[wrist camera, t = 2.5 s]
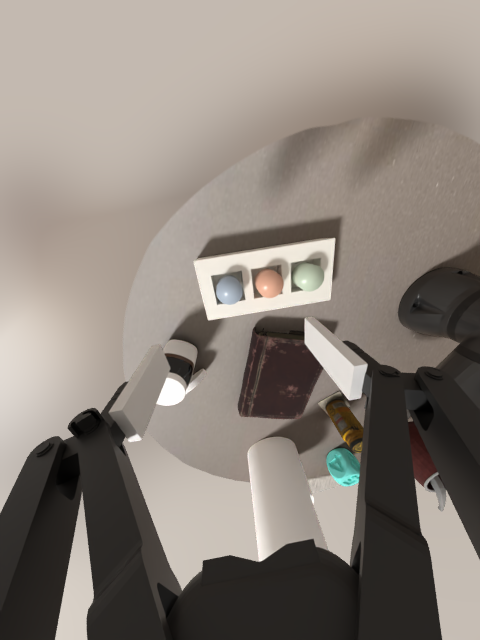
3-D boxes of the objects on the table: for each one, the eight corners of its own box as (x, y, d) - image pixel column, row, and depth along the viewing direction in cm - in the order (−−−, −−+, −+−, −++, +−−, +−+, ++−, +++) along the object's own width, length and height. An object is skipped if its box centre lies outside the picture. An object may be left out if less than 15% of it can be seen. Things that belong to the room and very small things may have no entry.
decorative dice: (322, 457, 66) (334, 483, 59) (337, 445, 64) (352, 471, 56) (336, 461, 68) (350, 488, 61) (352, 450, 66) (368, 476, 59)
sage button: (315, 260, 32) (325, 263, 29) (314, 284, 34) (323, 289, 31) (291, 264, 32) (298, 267, 29) (291, 288, 34) (298, 293, 30)
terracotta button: (277, 266, 32) (283, 269, 29) (278, 290, 34) (284, 295, 30) (253, 270, 32) (256, 274, 28) (255, 294, 33) (259, 300, 30)
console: (321, 238, 34) (335, 238, 30) (319, 293, 38) (330, 299, 34) (197, 258, 33) (193, 261, 29) (209, 311, 38) (208, 320, 34)
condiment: (329, 416, 56) (354, 458, 46) (317, 402, 53) (341, 444, 42) (349, 405, 55) (381, 446, 44) (338, 390, 52) (369, 430, 41)
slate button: (239, 273, 32) (240, 276, 28) (242, 296, 33) (244, 302, 30) (214, 277, 31) (213, 281, 28) (219, 300, 33) (219, 306, 30)
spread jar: (170, 330, 39) (150, 364, 29) (217, 347, 42) (215, 383, 31) (155, 370, 43) (134, 412, 33) (199, 382, 46) (192, 425, 36)
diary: (237, 401, 51) (237, 417, 47) (251, 325, 41) (254, 335, 37) (297, 404, 54) (304, 420, 49) (326, 332, 43) (337, 343, 39)
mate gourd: (384, 399, 55) (463, 478, 37) (420, 402, 57) (512, 478, 39) (361, 431, 61) (419, 512, 43) (395, 433, 63) (463, 510, 45)
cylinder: (237, 454, 61) (246, 609, 36) (276, 429, 57) (318, 583, 32) (268, 471, 67) (294, 613, 42) (305, 450, 63) (359, 591, 38)
